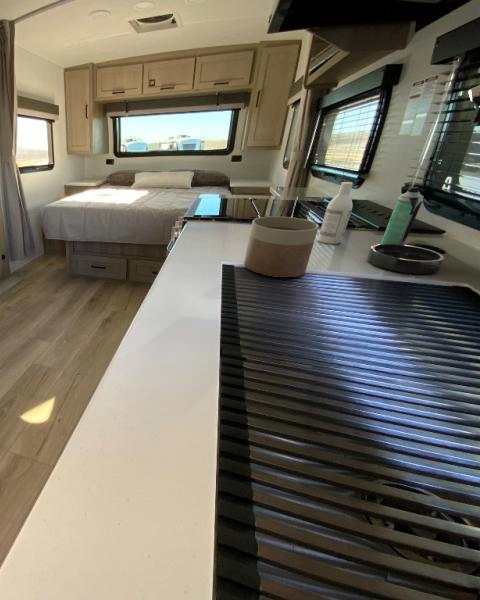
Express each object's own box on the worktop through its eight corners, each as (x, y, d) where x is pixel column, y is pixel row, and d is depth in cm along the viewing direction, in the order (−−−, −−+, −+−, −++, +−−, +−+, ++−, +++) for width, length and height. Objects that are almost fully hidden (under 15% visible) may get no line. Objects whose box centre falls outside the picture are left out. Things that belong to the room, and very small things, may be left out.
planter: (247, 277, 93) (257, 229, 87) (240, 258, 106) (248, 215, 100) (312, 282, 89) (327, 231, 82) (296, 261, 102) (308, 216, 96)
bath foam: (332, 238, 121) (350, 180, 112) (345, 244, 114) (366, 183, 105) (313, 239, 121) (329, 181, 112) (325, 244, 115) (344, 184, 106)
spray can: (404, 254, 103) (433, 188, 94) (387, 255, 104) (413, 189, 94) (390, 249, 108) (416, 185, 99) (373, 249, 108) (397, 186, 99)
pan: (425, 259, 99) (431, 246, 98) (447, 278, 87) (454, 264, 85) (361, 253, 106) (366, 241, 104) (373, 270, 94) (379, 257, 92)
